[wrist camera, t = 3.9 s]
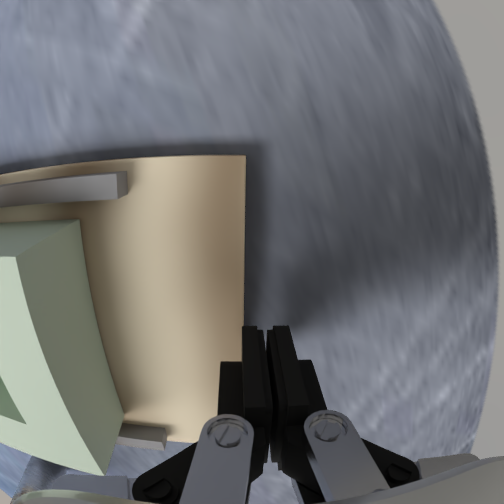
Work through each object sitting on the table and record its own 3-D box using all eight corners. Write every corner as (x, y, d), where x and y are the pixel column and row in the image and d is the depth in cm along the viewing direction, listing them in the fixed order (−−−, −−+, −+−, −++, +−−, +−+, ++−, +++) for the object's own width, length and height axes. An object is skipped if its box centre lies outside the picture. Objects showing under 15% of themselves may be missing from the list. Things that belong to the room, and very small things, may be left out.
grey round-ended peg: (58, 453, 17) (22, 550, 8) (73, 473, 18) (44, 563, 9) (29, 443, 17) (-11, 531, 7) (44, 464, 18) (12, 547, 8)
